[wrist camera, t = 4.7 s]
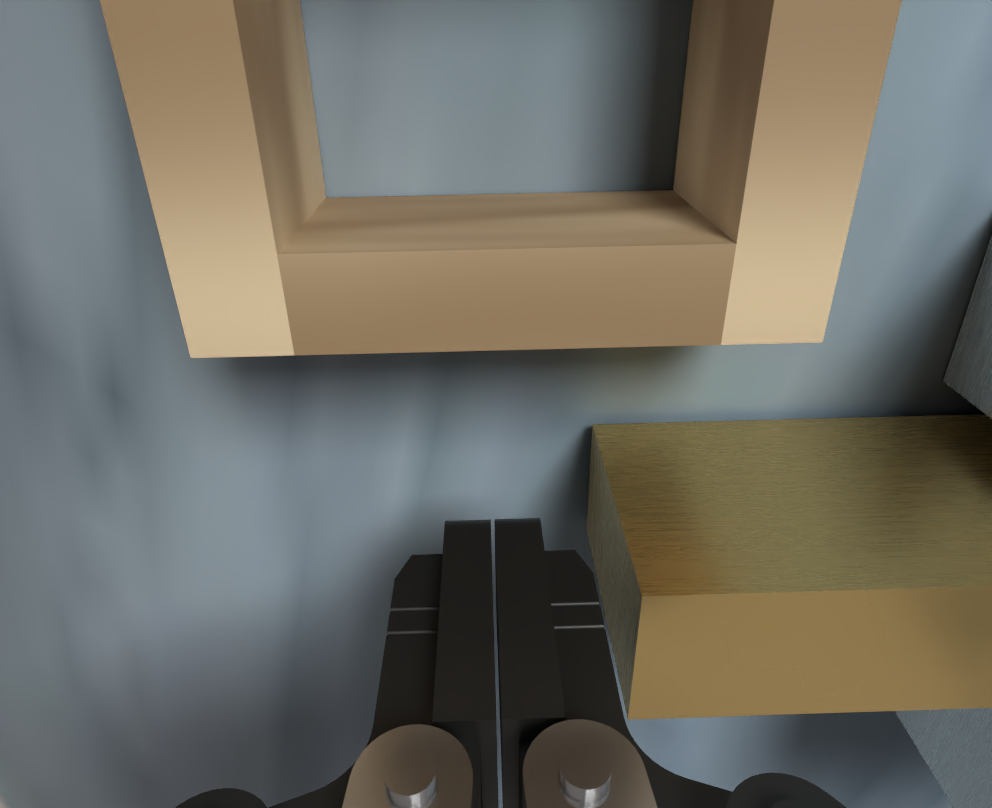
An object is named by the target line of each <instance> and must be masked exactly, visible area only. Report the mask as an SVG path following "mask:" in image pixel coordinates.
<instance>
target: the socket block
mask: <svg viewBox="0 0 992 808" xmlns="http://www.w3.org/2000/svg"><path fill="white" fill-rule="evenodd" d="M943 382H944V383H946V384H947V385H948V386H950V387H951V388H952V389H954V390H955V391H956V392H957V393H959V394H960V395H961V396H963V397H964V398H965V399H967V400H968V401H969V402H971V403H972V404H973V405H974V406H976V407H977V408H978V409H980V410H981V411H982V412H984V413H985V414H986V415H987V416H989V417H990V418H991V419H992V236H991V239H990V242H989V245H988V248H987V251H986V254H985V257H984V260H983V263H982V266H981V269H980V272H979V275H978V278H977V281H976V284H975V287H974V290H973V292H972V295H971V298H970V301H969V304H968V307H967V310H966V313H965V316H964V319H963V322H962V325H961V328H960V331H959V334H958V337H957V340H956V343H955V346H954V349H953V352H952V355H951V358H950V361H949V364H948V367H947V370H946V373H945V376H944V379H943ZM895 713H896V714H897V716H898V717H899V719H900V721H901V722H902V724H903V726H904V727H905V729H906V731H907V732H908V734H909V736H910V737H911V739H912V740H913V742H914V744H915V745H916V747H917V749H918V750H919V752H920V754H921V755H922V757H923V759H924V760H925V762H926V764H927V765H928V767H929V768H930V770H931V772H932V773H933V775H934V777H935V778H936V780H937V782H938V783H939V785H940V787H941V788H942V790H943V791H944V793H945V795H946V796H947V798H948V800H949V801H950V803H951V805H952V806H953V808H992V708H970V709H939V710H908V711H895Z"/></svg>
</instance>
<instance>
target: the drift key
mask: <svg viewBox="0 0 992 808" xmlns="http://www.w3.org/2000/svg"><path fill="white" fill-rule="evenodd" d="M586 529H587V533H588V538H589V543H590V547H591V552H592V557H593V561H594V566H595V570H596V575H597V580H598V584H599V589H600V593H601V598H602V603H603V607H604V612H605V616H606V621H607V626H608V630H609V635H610V640H611V644H612V649H613V653H614V658H615V663H616V667H617V672H618V676H619V681H620V686H621V690H622V695H623V699H624V704H625V709H626V713H627V718H628V719H658V718H689V717H721V716H752V715H783V714H814V713H845V712H876V711H908V710H939V709H970V708H992V419H991V418H990V417H989V416H987V415H986V414H975V415H937V416H899V417H861V418H824V419H786V420H748V421H710V422H672V423H634V424H596V425H593V426H592V443H591V460H590V477H589V493H588V510H587V527H586Z"/></svg>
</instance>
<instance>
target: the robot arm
mask: <svg viewBox="0 0 992 808" xmlns="http://www.w3.org/2000/svg"><path fill="white" fill-rule="evenodd" d="M495 568H496V611H497V643H498V673H499V702H500V732H501V761H502V791H503V808H846V807H845V806H843V805H842V804H841V803H840V802H838V801H837V800H836V799H834V798H833V797H832V796H831V795H829V794H828V793H826V792H825V791H823V790H822V789H821V788H819V787H818V786H816V785H814V784H812V783H810V782H808V781H806V780H803V779H801V778H798V777H795V776H791V775H787V774H781V773H764V774H759V775H755V776H752V777H750V778H748V779H746V780H744V781H743V782H742V783H740V784H739V785H738V786H737V787H736V788H735V790H734V791H733V792H731V791H728V790H724V789H721V788H718V787H714V786H711V785H707V784H704V783H700V782H697V781H693V780H690V779H687V778H684V777H681V776H678V775H676V774H674V773H672V772H670V771H668V770H666V769H664V768H663V767H661V766H660V765H658V764H657V763H655V762H654V761H653V760H652V759H650V758H649V757H648V756H647V755H646V754H645V753H644V752H643V751H642V750H641V749H640V748H639V746H638V745H637V744H636V742H635V741H634V739H633V738H632V736H631V735H630V733H629V730H628V728H627V726H626V723H625V720H624V716H623V711H622V707H621V702H620V697H619V693H618V688H617V683H616V678H615V674H614V669H613V664H612V660H611V655H610V650H609V645H608V641H607V636H606V631H605V629H604V622H603V617H602V613H601V608H600V606H599V598H598V594H597V589H596V584H595V580H594V575H593V572H592V571H591V570H590V569H589V567H588V566H587V565H586V564H585V562H584V561H583V560H582V559H581V557H580V556H579V555H578V554H577V552H576V551H575V550H562V551H544V544H543V536H542V528H541V522H540V518H528V519H495ZM176 808H267V807H266V805H265V804H264V803H263V802H262V801H261V800H260V799H259V798H257V797H256V796H255V795H253V794H251V793H249V792H246V791H244V790H239V789H228V788H223V789H216V790H211V791H208V792H204V793H201V794H199V795H197V796H194V797H192V798H190V799H188V800H186V801H185V802H183V803H181V804H180V805H178V806H177V807H176ZM269 808H498V777H497V735H496V697H495V661H494V625H493V590H492V554H491V520H463V521H445V528H444V544H443V554H430V555H412V556H411V557H410V558H409V560H408V561H407V563H406V564H405V566H404V567H403V568H402V570H401V571H400V573H399V574H398V575H397V577H396V578H395V582H394V588H393V595H392V602H391V613H390V616H389V622H388V629H387V636H386V643H385V650H384V656H383V663H382V670H381V677H380V684H379V690H378V697H377V704H376V711H375V718H374V724H373V729H372V733H371V736H370V739H369V741H368V744H367V746H366V747H365V749H364V750H363V752H362V753H361V754H360V756H359V757H358V759H357V761H356V762H355V763H354V764H353V765H352V766H351V767H350V768H349V769H348V770H347V771H346V772H345V773H344V774H343V775H341V776H340V777H339V778H338V779H336V780H335V781H333V782H331V783H330V784H328V785H326V786H325V787H323V788H320V789H318V790H316V791H313V792H311V793H308V794H305V795H302V796H300V797H297V798H294V799H291V800H289V801H286V802H283V803H280V804H277V805H275V806H272V807H269Z"/></svg>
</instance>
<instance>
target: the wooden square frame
mask: <svg viewBox="0 0 992 808" xmlns="http://www.w3.org/2000/svg"><path fill="white" fill-rule="evenodd" d="M901 2H902V0H693V6H692V15H691V25H690V34H689V44H688V53H687V63H686V72H685V82H684V91H683V101H682V110H681V120H680V129H679V139H678V148H677V158H676V167H675V177H674V186H673V190H657V191H612V192H566V193H521V194H475V195H430V196H384V197H339V198H326V193H325V185H324V178H323V170H322V162H321V155H320V147H319V140H318V132H317V125H316V117H315V110H314V102H313V95H312V87H311V80H310V72H309V65H308V57H307V50H306V42H305V35H304V27H303V20H302V12H301V5H300V0H100V3H101V7H102V11H103V15H104V19H105V23H106V27H107V31H108V35H109V39H110V42H111V46H112V50H113V54H114V58H115V62H116V66H117V70H118V74H119V78H120V82H121V86H122V90H123V94H124V98H125V101H126V105H127V109H128V113H129V117H130V121H131V125H132V129H133V133H134V137H135V141H136V145H137V149H138V153H139V156H140V160H141V164H142V168H143V172H144V176H145V180H146V184H147V188H148V192H149V196H150V200H151V204H152V208H153V212H154V215H155V219H156V223H157V227H158V231H159V235H160V239H161V243H162V247H163V251H164V255H165V259H166V263H167V267H168V271H169V274H170V278H171V282H172V286H173V290H174V294H175V298H176V302H177V306H178V310H179V314H180V318H181V322H182V326H183V330H184V333H185V337H186V341H187V345H188V349H189V353H190V357H191V358H213V357H253V356H293V355H333V354H373V353H413V352H453V351H493V350H533V349H574V348H614V347H654V346H694V345H734V344H774V343H814V342H823V338H824V334H825V330H826V325H827V321H828V317H829V312H830V308H831V304H832V299H833V295H834V291H835V286H836V282H837V278H838V274H839V269H840V265H841V261H842V256H843V252H844V248H845V243H846V239H847V235H848V230H849V226H850V222H851V217H852V213H853V209H854V205H855V200H856V196H857V192H858V187H859V183H860V179H861V174H862V170H863V166H864V161H865V157H866V153H867V148H868V144H869V140H870V136H871V131H872V127H873V123H874V118H875V114H876V110H877V105H878V101H879V97H880V92H881V88H882V84H883V79H884V75H885V71H886V67H887V62H888V58H889V54H890V49H891V45H892V41H893V36H894V32H895V28H896V23H897V19H898V15H899V10H900V6H901Z"/></svg>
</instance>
